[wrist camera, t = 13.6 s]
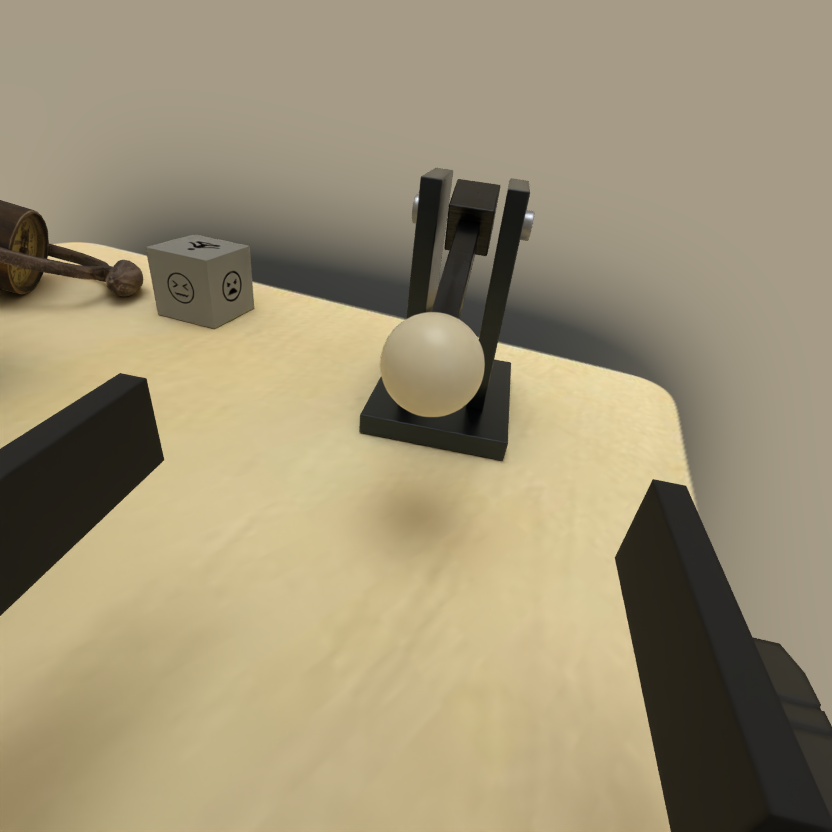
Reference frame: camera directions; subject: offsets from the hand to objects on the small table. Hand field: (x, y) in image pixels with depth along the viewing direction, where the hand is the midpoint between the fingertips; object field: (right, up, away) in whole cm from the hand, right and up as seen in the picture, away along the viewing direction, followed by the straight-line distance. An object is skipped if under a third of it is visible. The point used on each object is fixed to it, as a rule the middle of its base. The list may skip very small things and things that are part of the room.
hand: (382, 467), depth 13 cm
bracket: (+3, +2, +18) cm, 18 cm away
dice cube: (-16, +10, +26) cm, 32 cm away
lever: (+2, +6, +10) cm, 12 cm away
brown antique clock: (-28, +11, +25) cm, 39 cm away
